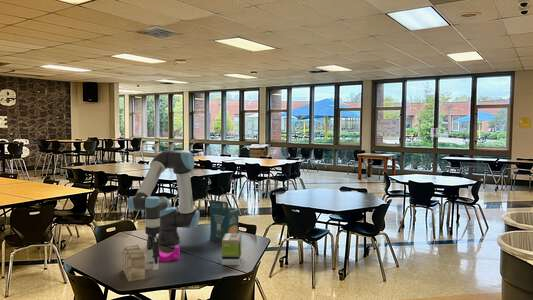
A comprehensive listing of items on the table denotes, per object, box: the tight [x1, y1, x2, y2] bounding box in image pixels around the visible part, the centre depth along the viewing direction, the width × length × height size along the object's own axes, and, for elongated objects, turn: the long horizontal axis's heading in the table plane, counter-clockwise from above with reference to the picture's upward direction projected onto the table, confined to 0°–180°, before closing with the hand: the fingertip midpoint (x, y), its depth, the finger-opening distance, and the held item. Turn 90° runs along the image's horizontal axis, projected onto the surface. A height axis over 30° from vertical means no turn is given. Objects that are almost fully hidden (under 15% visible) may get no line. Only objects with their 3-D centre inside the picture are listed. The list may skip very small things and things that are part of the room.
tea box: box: [221, 232, 242, 266], centre depth 233 cm, size 15×10×15 cm, turn 178°
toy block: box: [152, 245, 181, 263], centre depth 235 cm, size 15×6×8 cm, turn 94°
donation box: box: [209, 199, 240, 243], centre depth 280 cm, size 16×16×28 cm
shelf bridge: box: [122, 243, 146, 282], centre depth 210 cm, size 18×8×14 cm, turn 28°
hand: (152, 265), depth 215 cm, fingers open, 13 cm apart
